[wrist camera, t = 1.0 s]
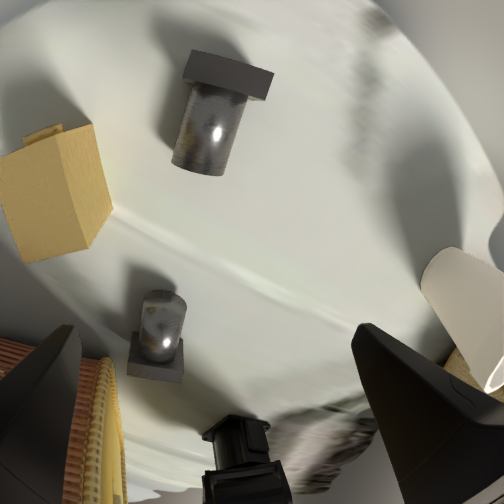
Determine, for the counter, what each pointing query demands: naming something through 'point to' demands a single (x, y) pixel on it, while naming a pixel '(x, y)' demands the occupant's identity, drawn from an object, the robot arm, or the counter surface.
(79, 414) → the picnic basket
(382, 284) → the counter surface
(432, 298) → the foam cup
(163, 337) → the shaft
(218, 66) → the shaft
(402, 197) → the counter surface
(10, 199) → the tan block
